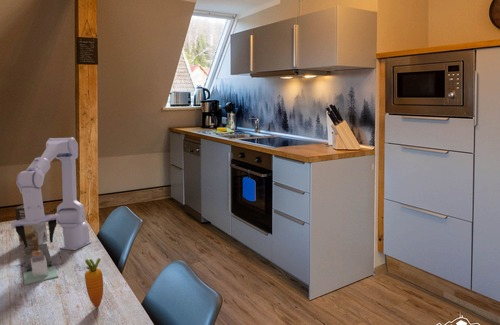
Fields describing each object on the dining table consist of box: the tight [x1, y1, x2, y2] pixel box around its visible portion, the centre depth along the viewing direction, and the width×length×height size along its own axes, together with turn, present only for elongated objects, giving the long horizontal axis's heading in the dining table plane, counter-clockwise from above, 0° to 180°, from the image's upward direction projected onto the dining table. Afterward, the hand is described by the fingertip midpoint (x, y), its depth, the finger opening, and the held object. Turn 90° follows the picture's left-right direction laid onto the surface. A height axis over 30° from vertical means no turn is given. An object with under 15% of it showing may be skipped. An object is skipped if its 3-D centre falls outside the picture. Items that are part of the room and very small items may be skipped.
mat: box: [22, 265, 59, 286], centre depth 140 cm, size 10×10×1 cm
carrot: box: [84, 257, 104, 309], centre depth 116 cm, size 5×5×15 cm
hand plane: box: [23, 236, 53, 272], centre depth 154 cm, size 20×8×6 cm, turn 30°
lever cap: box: [31, 254, 48, 279], centre depth 140 cm, size 6×4×6 cm
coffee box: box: [14, 203, 49, 247], centre depth 171 cm, size 9×6×16 cm
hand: (39, 244), depth 141 cm, fingers open, 7 cm apart
